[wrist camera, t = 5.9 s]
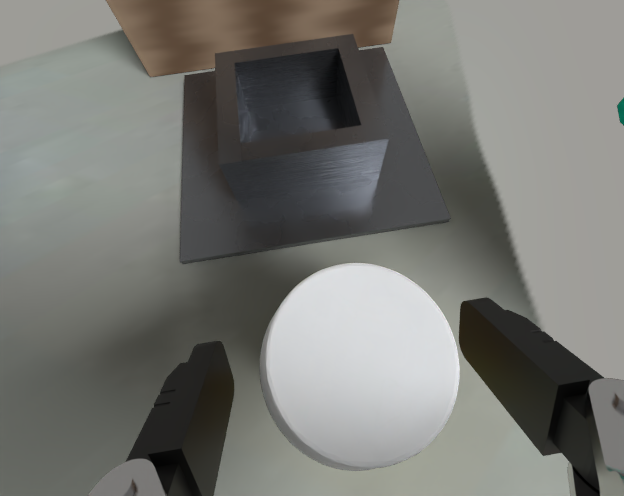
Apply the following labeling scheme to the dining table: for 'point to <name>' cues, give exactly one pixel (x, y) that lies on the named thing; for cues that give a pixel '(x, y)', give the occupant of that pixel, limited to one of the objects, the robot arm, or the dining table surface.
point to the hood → (242, 27)
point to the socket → (299, 151)
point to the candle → (621, 111)
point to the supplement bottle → (359, 367)
